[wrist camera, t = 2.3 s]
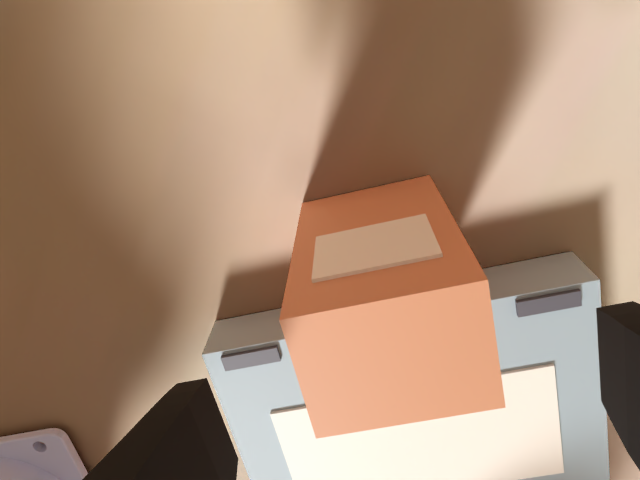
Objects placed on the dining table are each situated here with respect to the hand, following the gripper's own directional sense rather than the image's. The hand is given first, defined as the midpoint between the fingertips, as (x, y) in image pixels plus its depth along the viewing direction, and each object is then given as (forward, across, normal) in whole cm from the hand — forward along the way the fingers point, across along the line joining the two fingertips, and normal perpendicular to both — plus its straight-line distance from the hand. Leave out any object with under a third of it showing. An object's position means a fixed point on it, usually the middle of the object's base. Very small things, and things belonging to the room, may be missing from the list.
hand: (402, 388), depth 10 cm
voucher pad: (+8, 0, +6) cm, 10 cm away
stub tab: (+8, 0, 0) cm, 8 cm away
